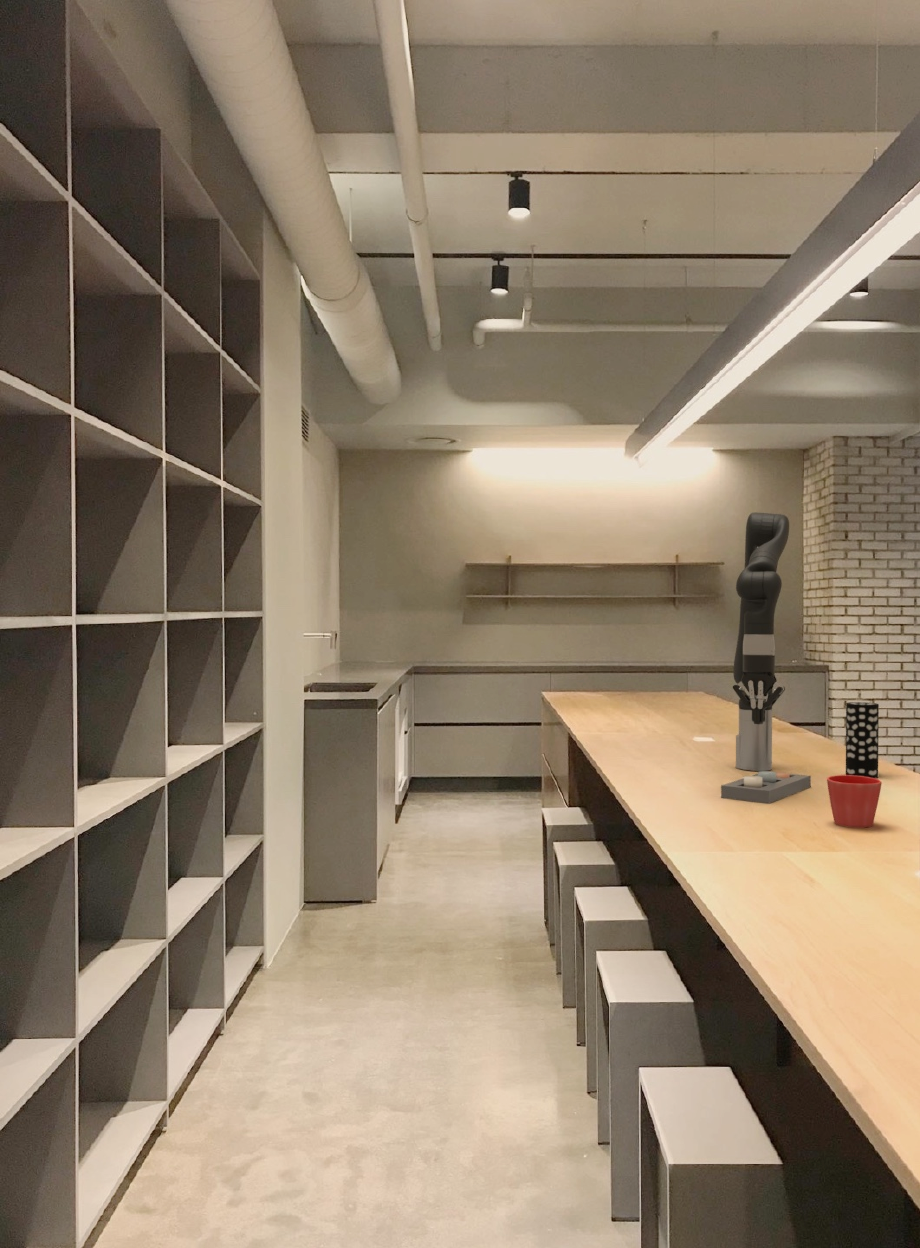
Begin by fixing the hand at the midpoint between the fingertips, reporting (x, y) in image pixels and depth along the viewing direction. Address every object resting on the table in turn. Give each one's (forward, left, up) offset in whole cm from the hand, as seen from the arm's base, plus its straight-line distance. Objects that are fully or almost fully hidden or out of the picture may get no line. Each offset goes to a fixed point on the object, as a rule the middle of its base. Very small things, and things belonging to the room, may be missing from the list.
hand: (758, 723), depth 251 cm
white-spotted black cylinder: (+10, +47, -18) cm, 52 cm away
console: (-1, +7, -18) cm, 19 cm away
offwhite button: (-1, -2, -16) cm, 16 cm away
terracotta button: (-1, +16, -17) cm, 24 cm away
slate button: (-1, +7, -16) cm, 17 cm away
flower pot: (+28, -18, -18) cm, 38 cm away
